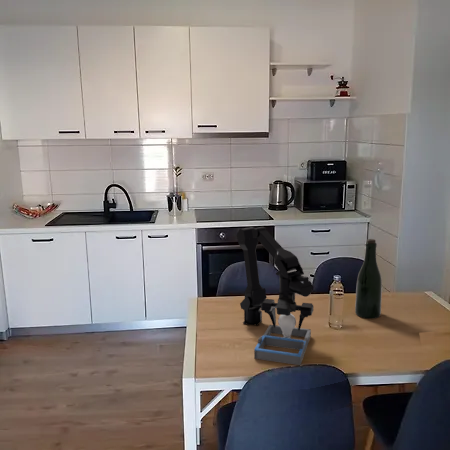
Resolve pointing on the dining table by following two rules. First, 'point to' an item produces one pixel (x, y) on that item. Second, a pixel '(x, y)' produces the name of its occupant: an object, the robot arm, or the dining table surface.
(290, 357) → the tray organiser
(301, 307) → the robot arm
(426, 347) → the dining table surface
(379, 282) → the green wine bottle
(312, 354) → the dining table surface
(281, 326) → the light bulb
